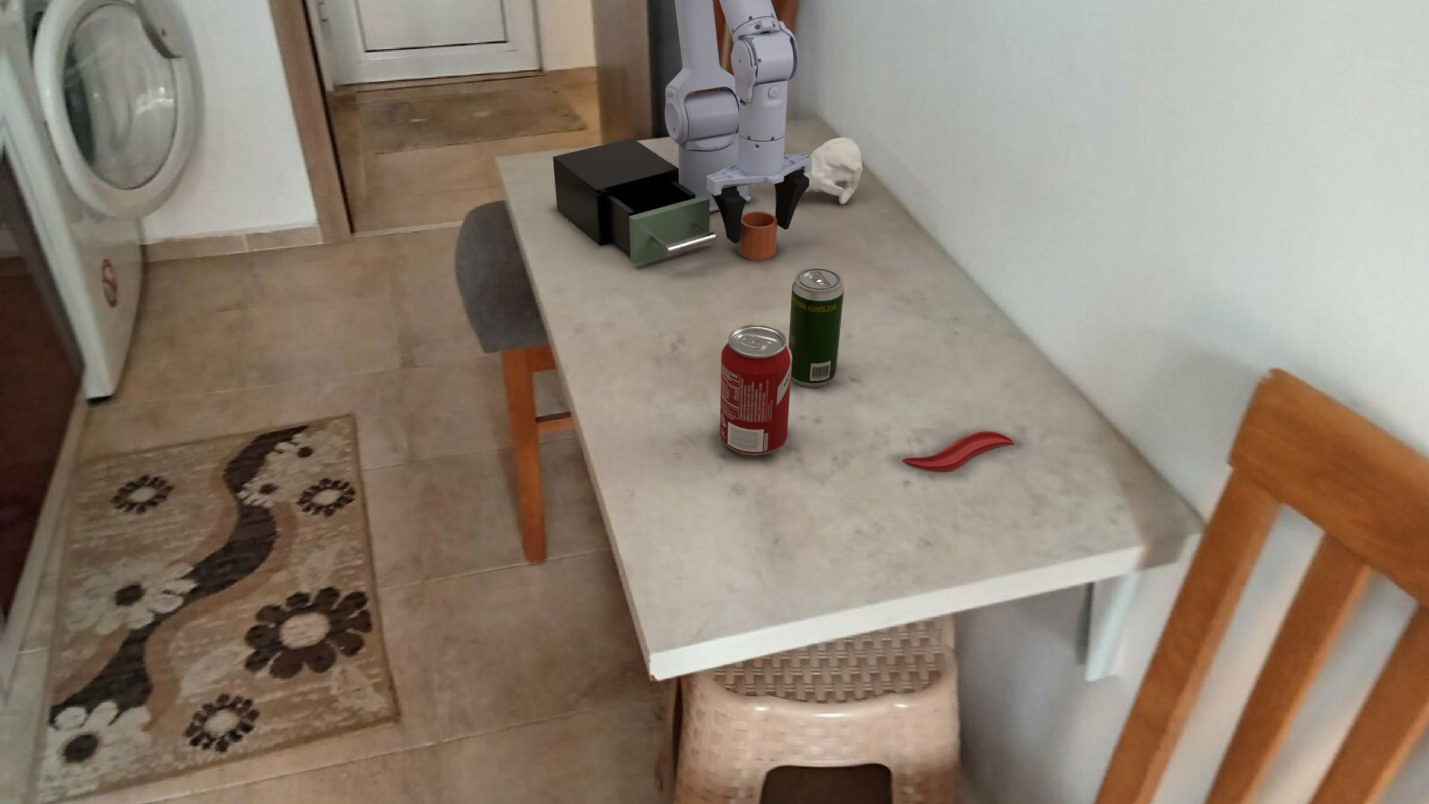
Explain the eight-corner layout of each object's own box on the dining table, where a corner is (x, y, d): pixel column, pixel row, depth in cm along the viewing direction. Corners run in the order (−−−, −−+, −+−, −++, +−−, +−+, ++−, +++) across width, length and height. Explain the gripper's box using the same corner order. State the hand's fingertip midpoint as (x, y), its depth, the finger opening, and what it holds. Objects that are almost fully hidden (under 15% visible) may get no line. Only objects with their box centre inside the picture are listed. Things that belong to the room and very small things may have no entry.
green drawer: (729, 257, 137) (730, 212, 134) (654, 280, 132) (653, 234, 129) (664, 210, 148) (663, 167, 144) (592, 230, 143) (589, 186, 139)
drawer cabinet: (679, 223, 147) (679, 168, 142) (599, 245, 141) (596, 189, 137) (634, 190, 155) (632, 137, 151) (556, 210, 150) (552, 156, 145)
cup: (761, 239, 143) (762, 207, 141) (782, 254, 140) (784, 222, 137) (731, 248, 141) (732, 216, 139) (752, 263, 138) (754, 231, 135)
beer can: (845, 381, 117) (854, 285, 110) (802, 393, 115) (809, 296, 108) (819, 356, 121) (827, 262, 114) (777, 368, 119) (783, 272, 112)
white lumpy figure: (867, 145, 147) (782, 160, 146) (866, 201, 152) (785, 216, 151) (852, 128, 152) (770, 142, 151) (852, 183, 157) (773, 197, 156)
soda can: (765, 469, 104) (770, 367, 97) (707, 445, 107) (707, 345, 100) (798, 433, 109) (805, 333, 102) (741, 412, 112) (744, 313, 105)
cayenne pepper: (909, 474, 104) (911, 459, 103) (895, 445, 108) (897, 430, 107) (1026, 463, 106) (1030, 448, 105) (1008, 434, 109) (1012, 419, 108)
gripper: (728, 155, 125) (726, 259, 133) (829, 132, 131) (821, 232, 139) (697, 135, 130) (697, 236, 138) (796, 113, 136) (790, 211, 144)
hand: (757, 233), depth 139 cm, fingers open, 7 cm apart
